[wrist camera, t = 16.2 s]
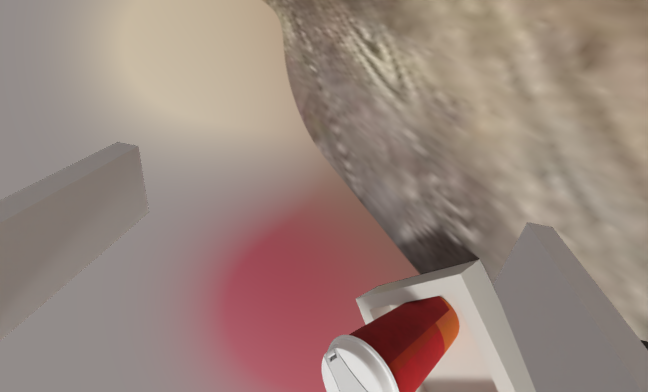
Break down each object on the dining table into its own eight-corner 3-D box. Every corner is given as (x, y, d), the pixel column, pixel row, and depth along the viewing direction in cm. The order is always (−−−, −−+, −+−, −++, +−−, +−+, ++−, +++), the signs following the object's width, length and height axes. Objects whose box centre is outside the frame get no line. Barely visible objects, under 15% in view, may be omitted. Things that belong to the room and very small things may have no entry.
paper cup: (392, 302, 40) (305, 359, 30) (435, 270, 35) (347, 327, 25) (435, 363, 37) (353, 449, 27) (488, 338, 32) (411, 432, 22)
